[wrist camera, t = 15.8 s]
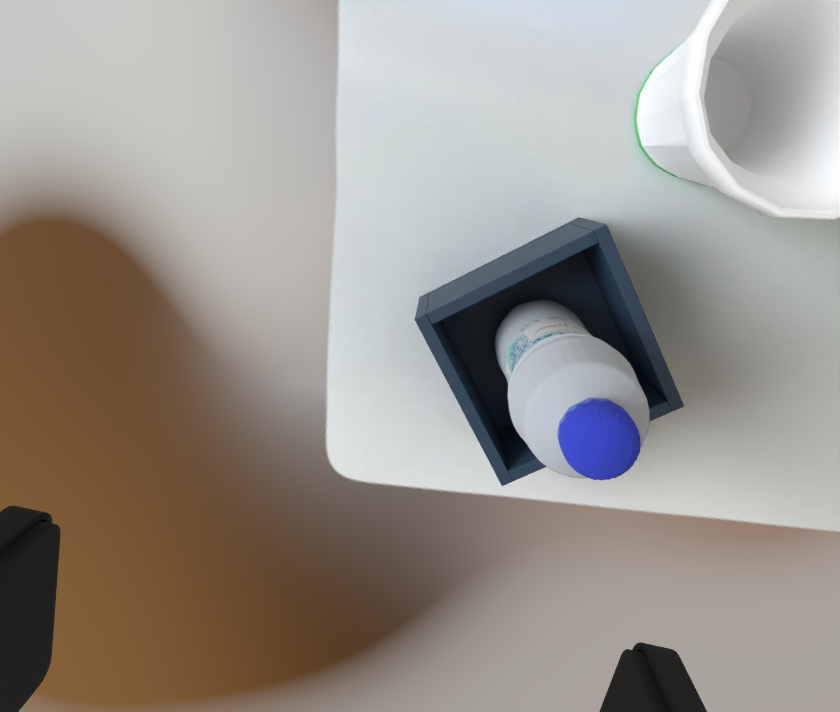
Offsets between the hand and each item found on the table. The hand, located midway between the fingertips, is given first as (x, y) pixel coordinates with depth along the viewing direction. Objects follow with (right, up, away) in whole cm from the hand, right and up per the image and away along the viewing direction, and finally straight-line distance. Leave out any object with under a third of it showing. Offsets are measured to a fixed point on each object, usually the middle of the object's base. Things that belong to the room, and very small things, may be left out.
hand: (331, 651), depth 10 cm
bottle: (+10, +6, +35) cm, 37 cm away
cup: (+20, +21, +31) cm, 43 cm away
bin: (+10, +6, +36) cm, 37 cm away
